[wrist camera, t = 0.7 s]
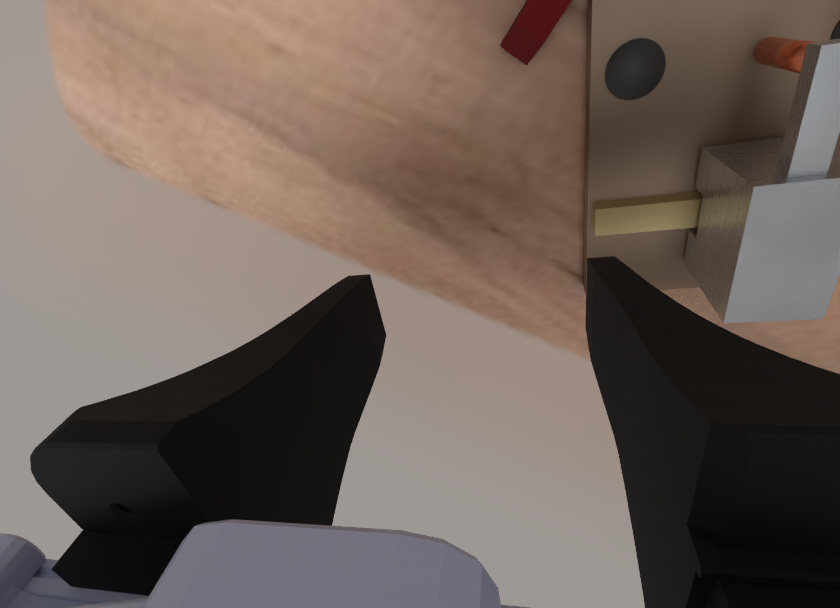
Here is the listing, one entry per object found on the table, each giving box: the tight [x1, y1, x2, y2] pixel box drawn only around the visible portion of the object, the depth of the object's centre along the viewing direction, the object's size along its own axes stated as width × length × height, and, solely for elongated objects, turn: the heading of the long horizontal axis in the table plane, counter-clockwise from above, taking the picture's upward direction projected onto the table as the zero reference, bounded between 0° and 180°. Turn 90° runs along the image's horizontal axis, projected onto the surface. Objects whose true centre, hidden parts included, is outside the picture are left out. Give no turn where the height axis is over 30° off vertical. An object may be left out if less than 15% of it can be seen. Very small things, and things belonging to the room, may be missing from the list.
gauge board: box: [583, 0, 840, 293], centre depth 16 cm, size 13×10×6 cm
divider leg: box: [684, 37, 840, 323], centre depth 15 cm, size 8×3×4 cm, turn 10°
